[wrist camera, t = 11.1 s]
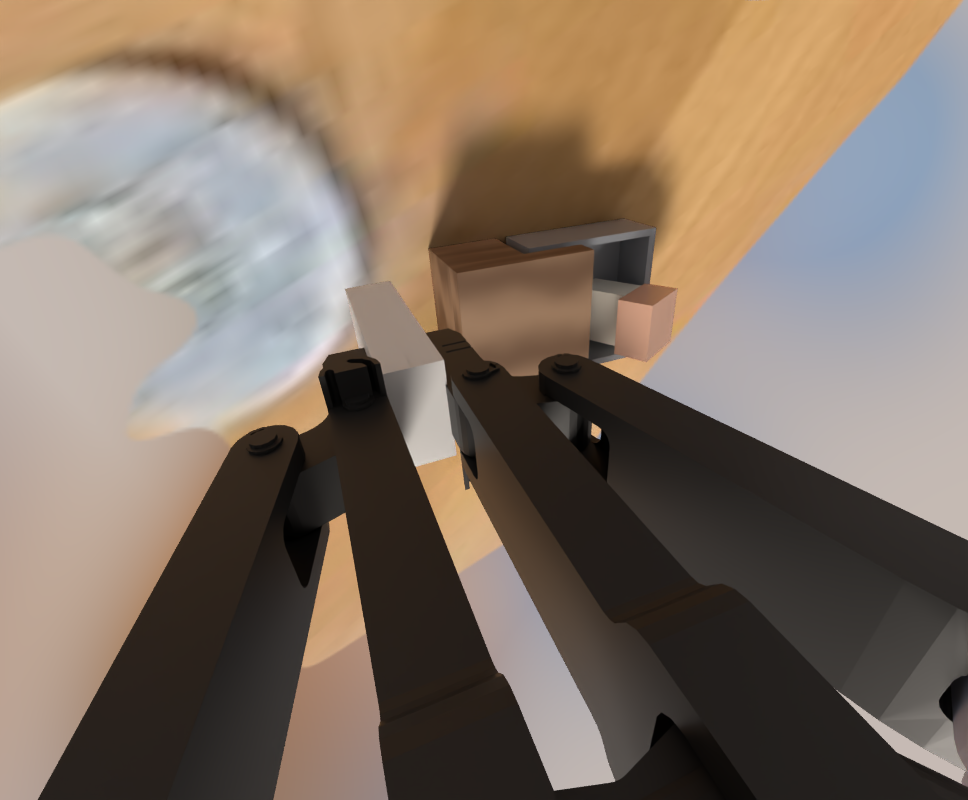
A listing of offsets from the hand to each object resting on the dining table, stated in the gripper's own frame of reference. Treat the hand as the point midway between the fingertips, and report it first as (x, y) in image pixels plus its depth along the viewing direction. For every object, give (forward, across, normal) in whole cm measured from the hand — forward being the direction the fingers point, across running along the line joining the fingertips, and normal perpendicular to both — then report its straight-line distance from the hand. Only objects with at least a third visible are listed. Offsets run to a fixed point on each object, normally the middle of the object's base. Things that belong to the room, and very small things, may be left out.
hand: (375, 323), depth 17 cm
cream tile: (+20, +22, -12) cm, 32 cm away
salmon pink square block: (+18, +24, -11) cm, 32 cm away
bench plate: (+24, +13, -11) cm, 30 cm away
